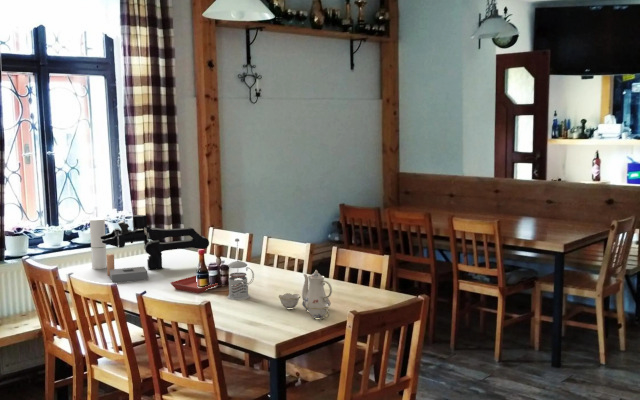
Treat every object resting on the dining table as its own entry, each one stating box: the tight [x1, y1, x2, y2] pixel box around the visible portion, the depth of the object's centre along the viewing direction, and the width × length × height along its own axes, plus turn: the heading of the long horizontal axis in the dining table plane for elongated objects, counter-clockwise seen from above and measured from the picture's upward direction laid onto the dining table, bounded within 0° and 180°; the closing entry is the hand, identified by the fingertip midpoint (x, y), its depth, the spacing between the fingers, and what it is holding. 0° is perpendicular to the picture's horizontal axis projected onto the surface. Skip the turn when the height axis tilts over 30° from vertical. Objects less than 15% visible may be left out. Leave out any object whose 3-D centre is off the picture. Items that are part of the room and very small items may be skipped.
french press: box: [226, 238, 255, 301], centre depth 282 cm, size 10×12×25 cm
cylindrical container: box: [89, 217, 107, 270], centre depth 342 cm, size 7×7×25 cm
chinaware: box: [278, 269, 333, 319], centre depth 259 cm, size 28×17×17 cm, turn 45°
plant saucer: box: [170, 275, 218, 294], centre depth 300 cm, size 18×18×3 cm
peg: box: [106, 253, 116, 277], centre depth 326 cm, size 3×3×10 cm
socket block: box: [109, 266, 149, 284], centre depth 318 cm, size 16×12×4 cm
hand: (101, 239), depth 329 cm, fingers open, 9 cm apart
